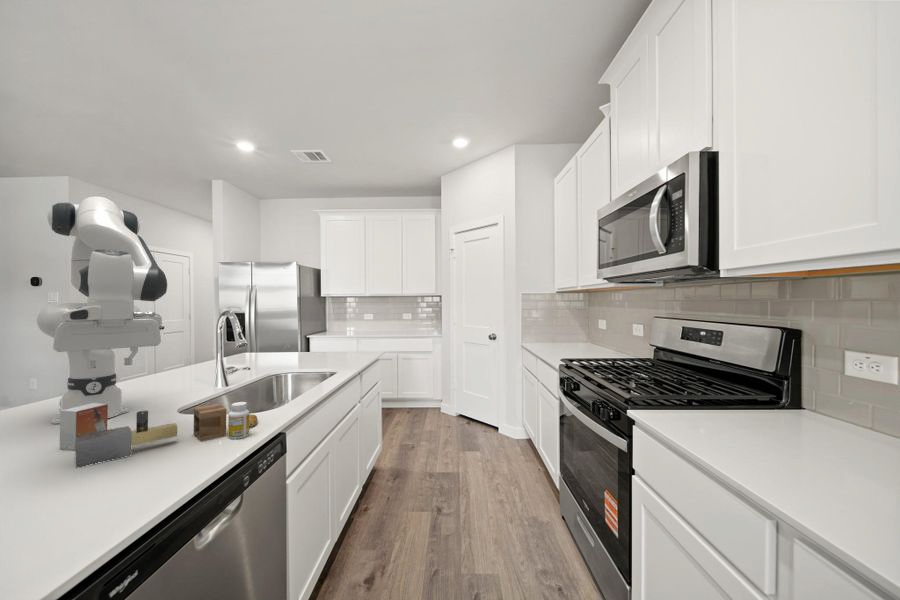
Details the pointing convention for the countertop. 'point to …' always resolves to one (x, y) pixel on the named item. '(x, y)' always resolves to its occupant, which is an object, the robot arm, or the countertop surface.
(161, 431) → the yellow bar with knob
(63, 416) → the small box
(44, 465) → the countertop surface
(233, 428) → the supplement bottle
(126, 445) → the sleeve
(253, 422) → the pastry
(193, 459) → the countertop surface
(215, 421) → the socket
